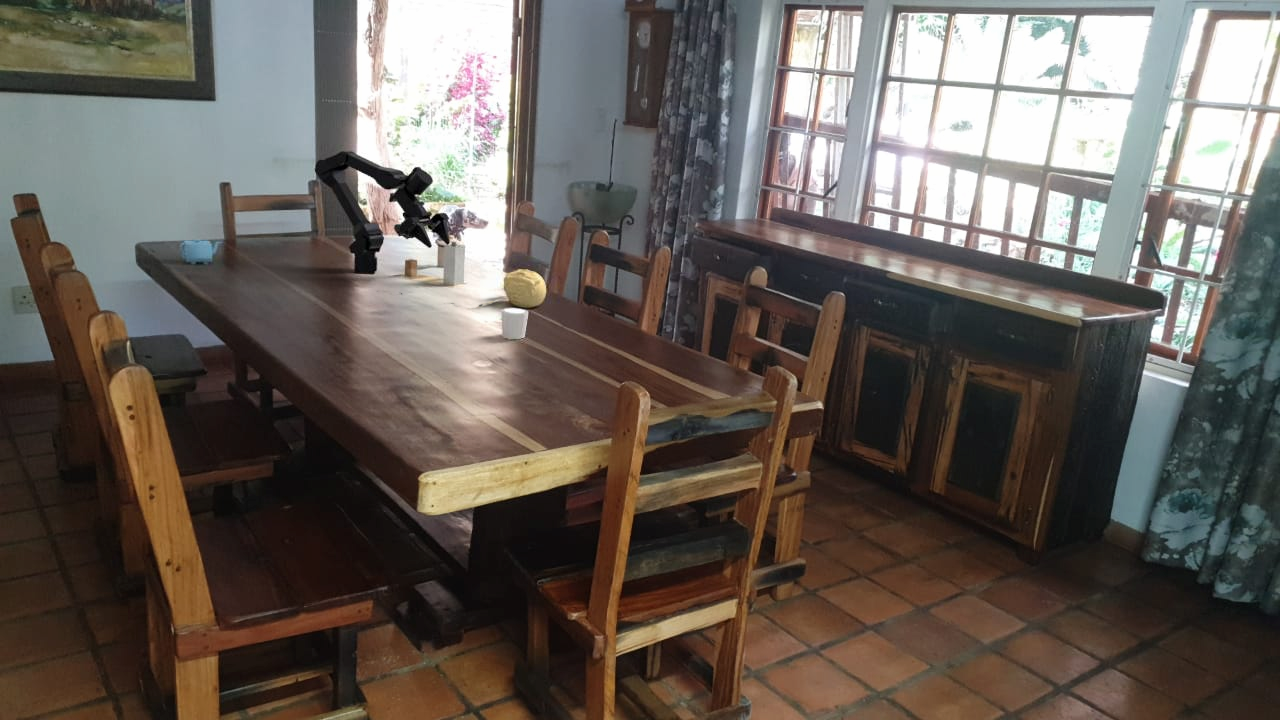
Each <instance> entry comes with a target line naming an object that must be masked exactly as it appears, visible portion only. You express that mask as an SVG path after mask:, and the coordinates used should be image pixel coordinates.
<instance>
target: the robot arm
mask: <svg viewBox="0 0 1280 720" xmlns="http://www.w3.org/2000/svg"><path fill="white" fill-rule="evenodd" d="M349 168H351V169H353V170H356V172H357V171H358V172H359V173H361V174H363V175H365V176H368V177H369V178H372V179H373V180H374V181H375V182H376V184H377V185H378V186H380V187H381V188H383V189H384V190H385V191H386V190H387V191H390V190H395V192H390V193H389V199H388V202H389V203H397V204H398V205H399V207H400V208H401V209H402V211H403V213H402V217H403V218H404V220H403V221H402V222H401V223H395V224H394V227H393V229H394V231H395V233H396V234H397V235H398V237H403V238H404V239H406V240H409V239H414V238H415V239H416V240H418V241H419V242H420V243H422V244H423V245H424V246H425V247H427V248H429V249H431V248H432V247H433V244H432V241H431V240H430V237H429V235H428V232H427V229H426V228H425V227H427V228H428V229H429V230H430V231H431V233H435V234H437V235H438V236H439V238H440V239H441V241H444V242H445V243H446V244H447V245H448V244H449V243H450V240H449V235H450V234H449V229H448V228H449V227H448V222H449V220H450V218H449V216H448V215H447V213H446V212H439V213H438V212H437V213H435V214H434V215H433V213H432V212H431V211H427V209H426V208H425V206H424V205H425V202H424V201H420V200H419V197H417V196H421V195H422V194H423V193H424V192H425V191H427V189H428V188H429V187H430V186H431V185H432V184H433V182H434V181H433V177H432V176H431V174H429V173H428V171H426V170H424V169H422V168H421V167H420V166H415V167H413V169H412V170H411V172H410V173H409V174H408V175H406V174H405V173H404V171H402V170H400V169H396V168H392V167H385V166H382V165H380V164H377V163H376V162H374V161H371V160H369V159H367V158H365V157H363V156H362V155H359V154H357V153H356V152H354V151H352V150H342V151H340V152H338V153H336V154H335V155H332V156H329V157H326V158H324V159H318V160H317V161H316V163H315V166H314V173H315V174H316V176H317V177H318V178H319V180H320V181H321V182H322V183H323V184H325V185H326V186H328V187H329V188H330V189H331V190H332V192H333V194H334V195H335V197H336V200H337V201H338V202H339V204H340V207H341V208H342V209H343V211H344V213H345V214H346V216H347V218H348V220H349V221H350V224H351V225H352V228H353V238H354V241H353V242H352V243H351V244H350V245H349V246H348V249H349V253H350V254H353V255H354V258H353V259H354V260H353V261H354V262H353V263H354V265H353V266H354V267H353V268H354V269H353V273H355V274H372V275H374V274H375V273H376V272H377V271H378V257H377V255H376V253H380V251H381V249H382V246H383V244H384V240H385V237H384V231H383V230H381V227H380V226H379V225H380V224H379V223H378V222H376V221H374V222H371V220H369V219H368V218H367V216H366V215H365V213H364V211H363V209H362V208H361V206H360V205H359V203H358V201H357V199H356V197H355V196H354V194H353V192H352V191H351V189H350V187H349V185H348V183H347V182H346V170H348V169H349Z"/></svg>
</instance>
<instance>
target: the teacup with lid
mask: <svg viewBox="0 0 1280 720" xmlns="http://www.w3.org/2000/svg"><path fill="white" fill-rule="evenodd" d="M449 240H450V243H449V244H448V245H450V244H452V242H458V245H464V246H465V247H466V245H465V243H464V242H462V241H460V240H458V238H455V235H454V234H453V235H452V234H449ZM445 245H447V244H446V243H445V242H444V241H443V240H439V241H437V267H440V268H444V246H445Z"/></svg>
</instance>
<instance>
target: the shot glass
mask: <svg viewBox="0 0 1280 720" xmlns="http://www.w3.org/2000/svg"><path fill="white" fill-rule="evenodd" d="M500 312H501V331H502V333H501V335H502V338H503V337H504V338H503V339H505V338H508V339H507V340H510V339H521V338H524V337H525V335H526V330H527V329H526V328H527V323H528V317H529V310H527V309H525V308H524V309H523V308H522V307H518V308H517V307H505V308H502V309H501V310H500ZM524 339H525V338H524ZM521 340H522V339H521Z"/></svg>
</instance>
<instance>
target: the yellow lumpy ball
mask: <svg viewBox="0 0 1280 720" xmlns="http://www.w3.org/2000/svg"><path fill="white" fill-rule="evenodd" d="M503 291H504V292H505V295H506V298H507V300H508V301H509V302H510V304H511V305H513V306H515V307H518V308H522V309H523V308H524V309H525V308H526V309H529V308H530V309H531V308H535V307H538V306H539V305H541V304H542V303H543V302H544V300H545V299H546V295H547V286H546V283H545V280H544V278H543V277H542V276H541V275H540V274H539V273H538V272H536V271H532V270H529V269H521V268H519V269H516V270H514V271H512V272H507V273H506V274H505V276H504V278H503Z"/></svg>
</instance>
